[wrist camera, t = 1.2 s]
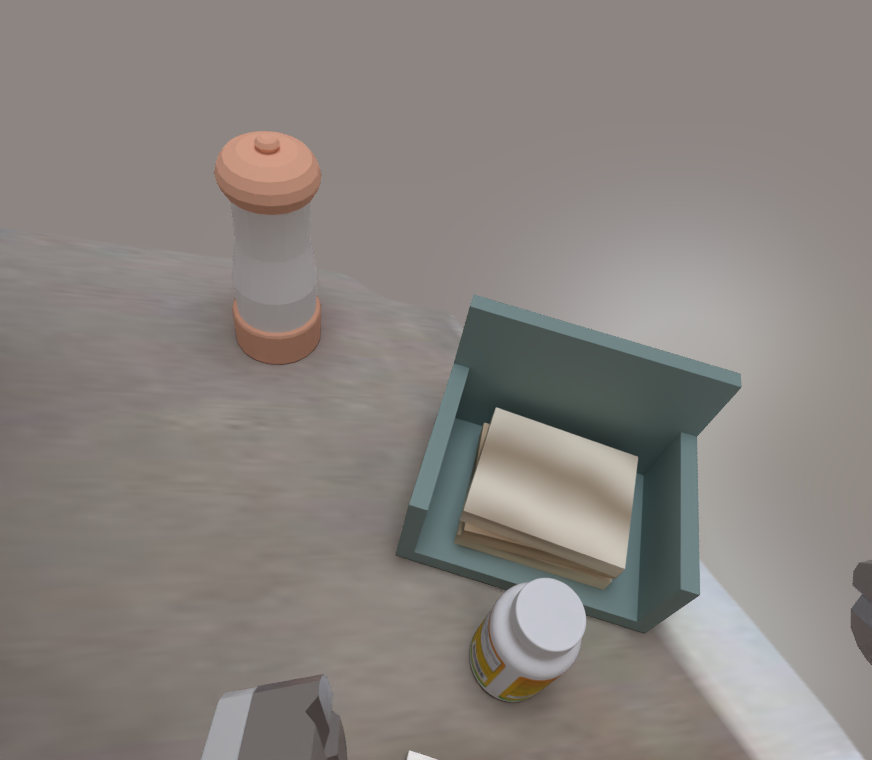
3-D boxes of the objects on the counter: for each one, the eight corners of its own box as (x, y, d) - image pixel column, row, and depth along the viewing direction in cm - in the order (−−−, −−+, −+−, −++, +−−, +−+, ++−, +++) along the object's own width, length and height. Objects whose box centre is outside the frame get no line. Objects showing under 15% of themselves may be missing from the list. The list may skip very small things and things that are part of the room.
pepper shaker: (225, 356, 53) (190, 155, 38) (250, 296, 57) (228, 97, 42) (310, 371, 53) (309, 179, 38) (328, 311, 58) (334, 119, 43)
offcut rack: (644, 633, 44) (755, 557, 33) (395, 554, 44) (422, 454, 34) (650, 476, 52) (740, 373, 41) (440, 412, 53) (473, 294, 42)
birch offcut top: (616, 577, 41) (624, 568, 40) (459, 520, 42) (463, 510, 41) (629, 467, 47) (638, 456, 46) (491, 418, 48) (496, 407, 46)
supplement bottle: (560, 648, 42) (614, 602, 35) (523, 722, 39) (574, 688, 32) (493, 601, 44) (531, 546, 36) (452, 668, 40) (485, 624, 33)
